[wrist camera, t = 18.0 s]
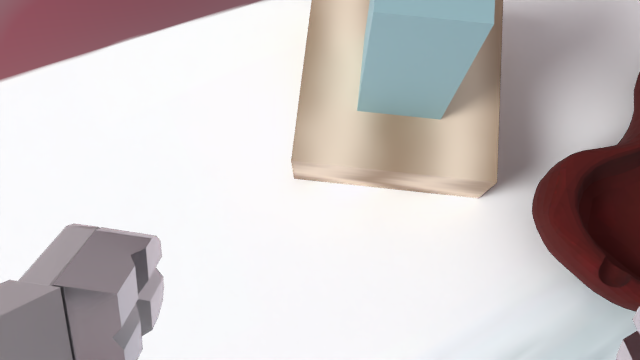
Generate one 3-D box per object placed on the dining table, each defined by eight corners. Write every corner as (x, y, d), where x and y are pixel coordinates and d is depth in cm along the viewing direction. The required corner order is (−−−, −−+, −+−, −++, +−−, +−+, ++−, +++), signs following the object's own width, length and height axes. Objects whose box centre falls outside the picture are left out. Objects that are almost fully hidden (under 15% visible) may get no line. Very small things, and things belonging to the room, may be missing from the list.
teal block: (445, 44, 36) (497, -79, 25) (440, 119, 35) (493, 23, 24) (364, 36, 36) (383, -90, 25) (356, 110, 35) (373, 12, 24)
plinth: (485, 31, 41) (503, -1, 37) (478, 198, 37) (497, 182, 34) (314, 14, 41) (314, -19, 37) (294, 178, 38) (291, 160, 34)
